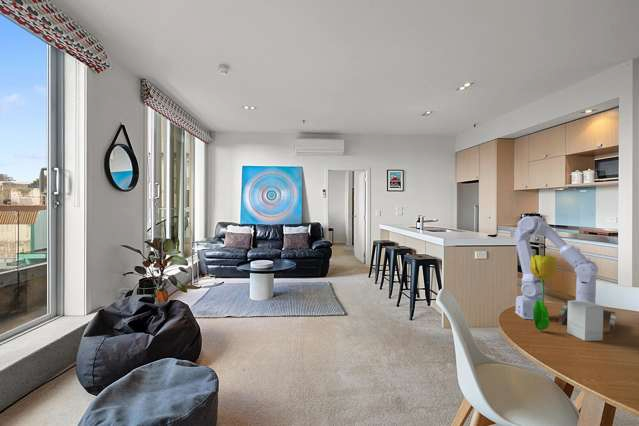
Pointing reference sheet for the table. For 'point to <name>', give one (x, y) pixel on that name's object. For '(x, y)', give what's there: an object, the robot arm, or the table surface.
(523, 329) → the table surface
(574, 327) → the supplement box
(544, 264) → the flower
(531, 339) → the table surface
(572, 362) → the table surface
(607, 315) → the cold frame
